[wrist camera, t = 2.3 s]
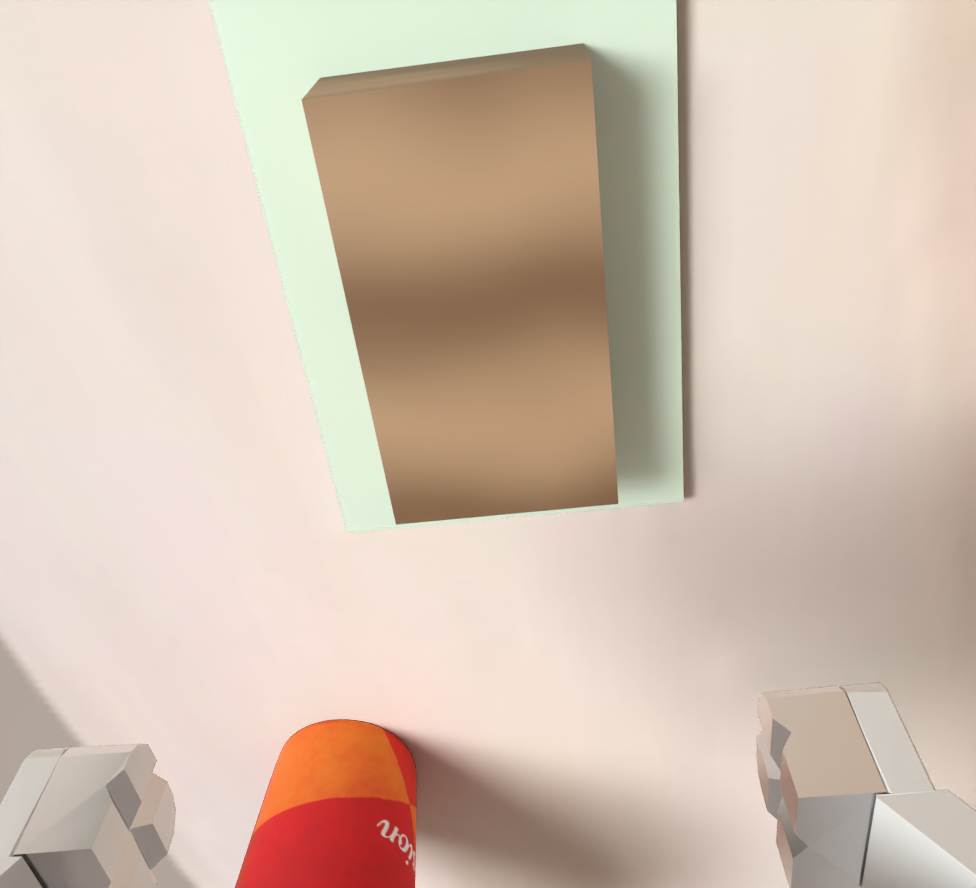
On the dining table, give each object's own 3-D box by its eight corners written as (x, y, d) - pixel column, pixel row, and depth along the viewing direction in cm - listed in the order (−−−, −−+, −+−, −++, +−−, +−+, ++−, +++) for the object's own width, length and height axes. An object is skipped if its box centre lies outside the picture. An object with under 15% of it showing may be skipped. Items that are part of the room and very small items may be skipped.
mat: (680, 492, 30) (683, 501, 30) (348, 523, 31) (346, 533, 30) (672, -66, 22) (675, -64, 21) (214, -2, 22) (208, 1, 22)
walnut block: (609, 456, 29) (618, 504, 27) (403, 476, 29) (396, 524, 27) (582, 42, 22) (591, 62, 20) (320, 77, 23) (301, 99, 21)
